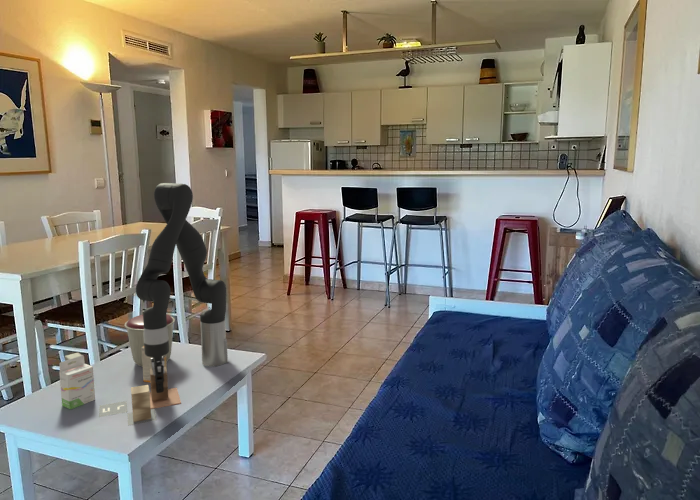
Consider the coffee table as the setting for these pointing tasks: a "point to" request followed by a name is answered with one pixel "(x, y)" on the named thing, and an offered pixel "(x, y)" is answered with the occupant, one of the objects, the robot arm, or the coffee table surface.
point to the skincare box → (72, 357)
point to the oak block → (141, 403)
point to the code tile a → (112, 408)
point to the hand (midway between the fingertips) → (159, 388)
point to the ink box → (76, 383)
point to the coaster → (171, 400)
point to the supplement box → (148, 365)
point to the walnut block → (154, 394)
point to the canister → (137, 339)
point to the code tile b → (153, 418)
